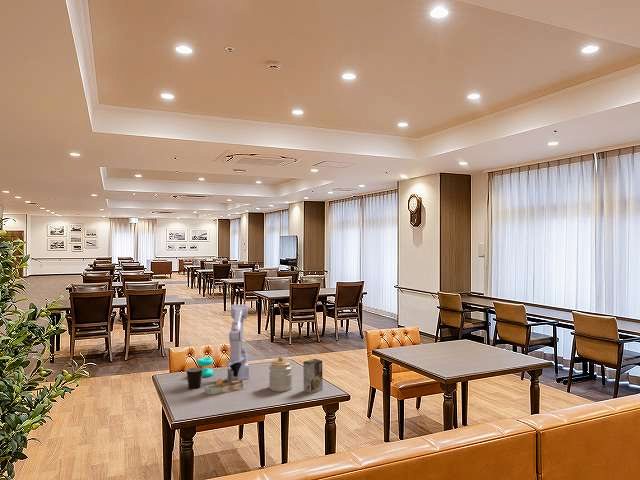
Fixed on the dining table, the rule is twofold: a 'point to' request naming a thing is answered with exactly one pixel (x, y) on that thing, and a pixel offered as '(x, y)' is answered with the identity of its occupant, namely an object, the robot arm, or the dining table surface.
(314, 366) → the coffee box
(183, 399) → the dining table surface
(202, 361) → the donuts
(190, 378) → the coffee mug
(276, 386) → the jar
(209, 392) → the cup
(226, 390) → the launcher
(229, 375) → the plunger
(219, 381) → the ball
